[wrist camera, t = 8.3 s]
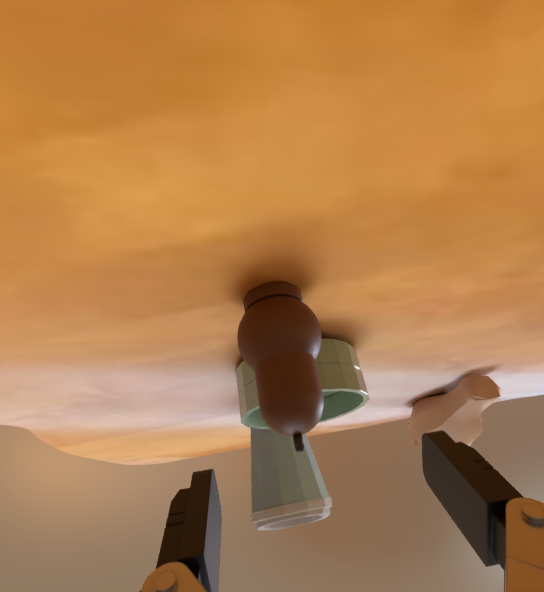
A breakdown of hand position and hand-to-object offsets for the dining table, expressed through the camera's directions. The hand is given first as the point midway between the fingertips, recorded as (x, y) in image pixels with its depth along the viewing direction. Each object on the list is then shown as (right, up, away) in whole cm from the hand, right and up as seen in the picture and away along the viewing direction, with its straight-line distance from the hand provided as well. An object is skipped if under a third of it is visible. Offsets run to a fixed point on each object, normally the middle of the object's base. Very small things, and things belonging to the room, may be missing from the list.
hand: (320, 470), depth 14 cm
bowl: (+1, 0, +26) cm, 26 cm away
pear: (-2, +6, +14) cm, 16 cm away
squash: (+27, -10, +49) cm, 57 cm away
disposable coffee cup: (-1, -10, +40) cm, 41 cm away
